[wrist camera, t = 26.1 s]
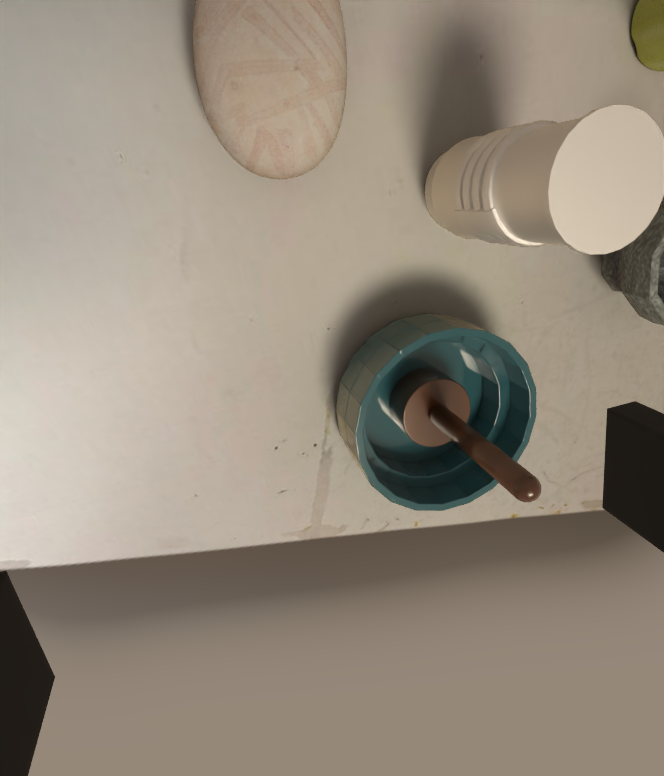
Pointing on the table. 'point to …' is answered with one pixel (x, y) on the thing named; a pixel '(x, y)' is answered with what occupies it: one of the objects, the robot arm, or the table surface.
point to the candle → (554, 182)
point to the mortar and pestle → (640, 270)
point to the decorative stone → (272, 80)
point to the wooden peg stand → (454, 427)
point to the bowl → (465, 366)
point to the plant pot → (649, 33)
